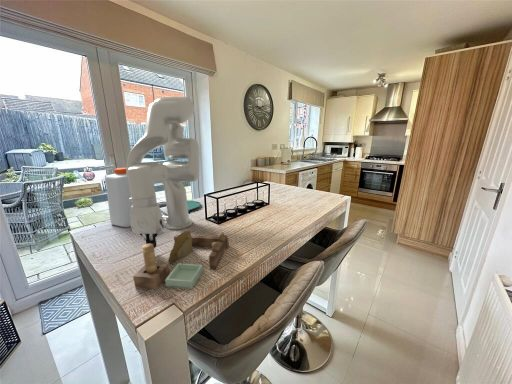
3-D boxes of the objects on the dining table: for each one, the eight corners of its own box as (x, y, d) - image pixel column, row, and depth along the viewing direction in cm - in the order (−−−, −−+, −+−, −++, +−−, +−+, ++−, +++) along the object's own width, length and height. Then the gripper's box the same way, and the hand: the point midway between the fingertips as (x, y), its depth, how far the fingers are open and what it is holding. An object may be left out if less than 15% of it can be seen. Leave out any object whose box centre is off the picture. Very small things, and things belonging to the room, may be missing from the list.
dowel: (145, 283, 64) (139, 248, 61) (151, 277, 67) (146, 243, 64) (155, 284, 63) (149, 248, 60) (160, 278, 66) (155, 243, 63)
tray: (166, 286, 62) (165, 279, 62) (179, 269, 70) (178, 263, 70) (192, 289, 61) (191, 281, 61) (203, 271, 69) (202, 264, 69)
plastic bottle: (126, 229, 102) (115, 171, 94) (107, 224, 108) (95, 169, 100) (153, 218, 115) (145, 167, 107) (134, 214, 121) (126, 165, 114)
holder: (135, 287, 62) (133, 276, 61) (149, 272, 69) (148, 262, 68) (157, 289, 61) (155, 277, 60) (170, 274, 68) (168, 263, 67)
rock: (170, 264, 70) (198, 251, 75) (160, 240, 71) (189, 229, 76) (168, 267, 78) (194, 255, 84) (160, 246, 80) (186, 235, 85)
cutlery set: (206, 208, 130) (206, 204, 129) (156, 223, 110) (155, 218, 110) (191, 201, 144) (191, 198, 143) (144, 213, 124) (143, 210, 124)
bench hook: (155, 265, 73) (152, 246, 71) (177, 243, 88) (175, 226, 86) (217, 269, 70) (215, 249, 68) (228, 246, 85) (228, 229, 83)
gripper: (117, 204, 71) (126, 252, 76) (158, 205, 70) (165, 254, 74) (132, 197, 79) (140, 242, 83) (170, 198, 77) (175, 244, 81)
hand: (152, 248), depth 79 cm, fingers closed
